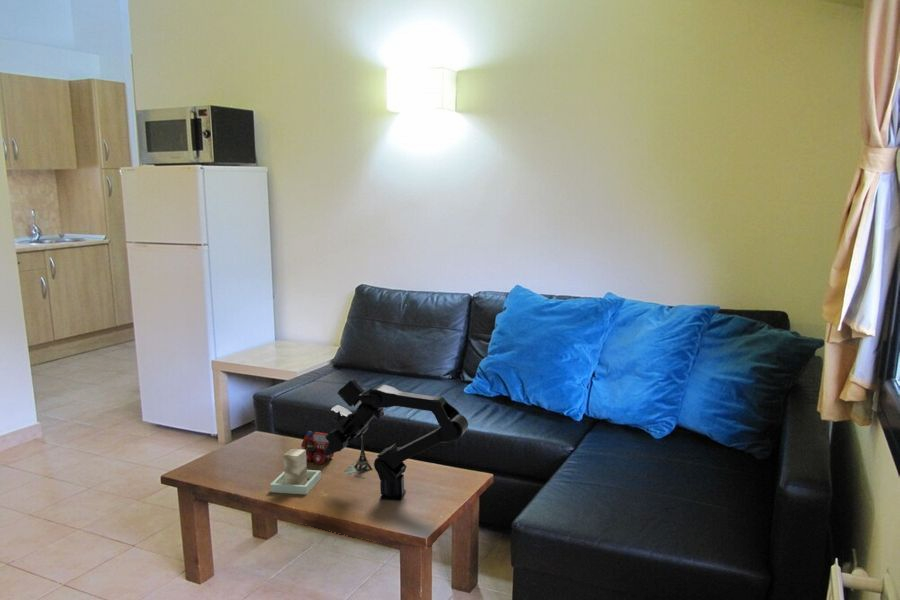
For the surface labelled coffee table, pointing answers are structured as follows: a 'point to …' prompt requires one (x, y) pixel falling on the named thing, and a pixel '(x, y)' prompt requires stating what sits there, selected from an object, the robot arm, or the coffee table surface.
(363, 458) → the eiffel tower figurine
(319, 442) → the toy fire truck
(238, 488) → the coffee table surface
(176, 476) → the coffee table surface
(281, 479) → the frame
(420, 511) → the coffee table surface
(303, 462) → the maple block
